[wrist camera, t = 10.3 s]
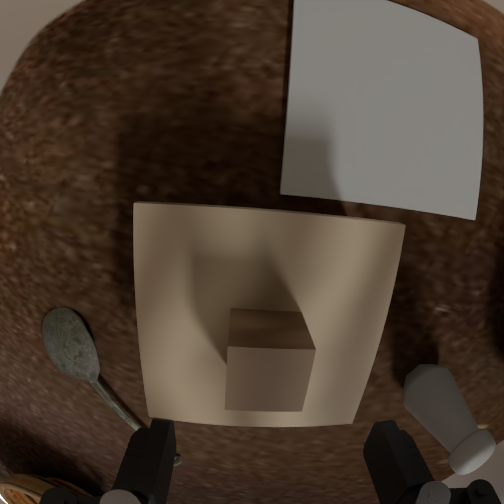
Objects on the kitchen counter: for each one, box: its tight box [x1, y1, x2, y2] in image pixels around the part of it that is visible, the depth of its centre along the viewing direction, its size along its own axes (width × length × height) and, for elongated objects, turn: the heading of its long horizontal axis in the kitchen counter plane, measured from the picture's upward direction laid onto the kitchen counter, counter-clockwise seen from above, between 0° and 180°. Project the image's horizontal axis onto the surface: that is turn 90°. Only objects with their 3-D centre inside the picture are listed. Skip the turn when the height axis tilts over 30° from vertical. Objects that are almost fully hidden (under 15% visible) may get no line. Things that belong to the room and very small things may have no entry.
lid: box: [133, 201, 405, 427], centre depth 16 cm, size 15×15×5 cm
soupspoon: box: [42, 307, 182, 466], centre depth 26 cm, size 22×3×7 cm
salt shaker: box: [403, 364, 496, 475], centre depth 22 cm, size 6×6×13 cm
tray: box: [280, 0, 483, 220], centre depth 20 cm, size 18×18×1 cm
